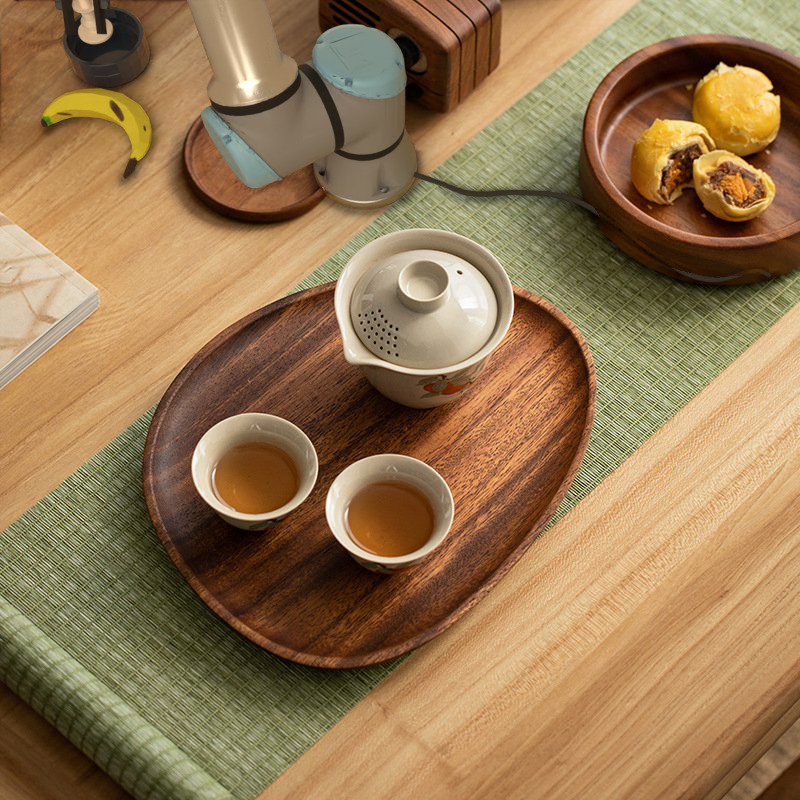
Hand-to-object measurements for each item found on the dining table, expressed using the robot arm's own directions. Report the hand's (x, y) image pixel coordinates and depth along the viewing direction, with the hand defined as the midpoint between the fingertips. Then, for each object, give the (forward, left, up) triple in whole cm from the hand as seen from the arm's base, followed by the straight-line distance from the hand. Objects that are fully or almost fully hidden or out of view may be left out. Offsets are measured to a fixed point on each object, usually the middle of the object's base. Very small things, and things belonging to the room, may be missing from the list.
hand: (86, 34), depth 136 cm
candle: (+1, -4, -3) cm, 5 cm away
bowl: (0, -4, -9) cm, 9 cm away
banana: (-5, +11, -9) cm, 15 cm away
